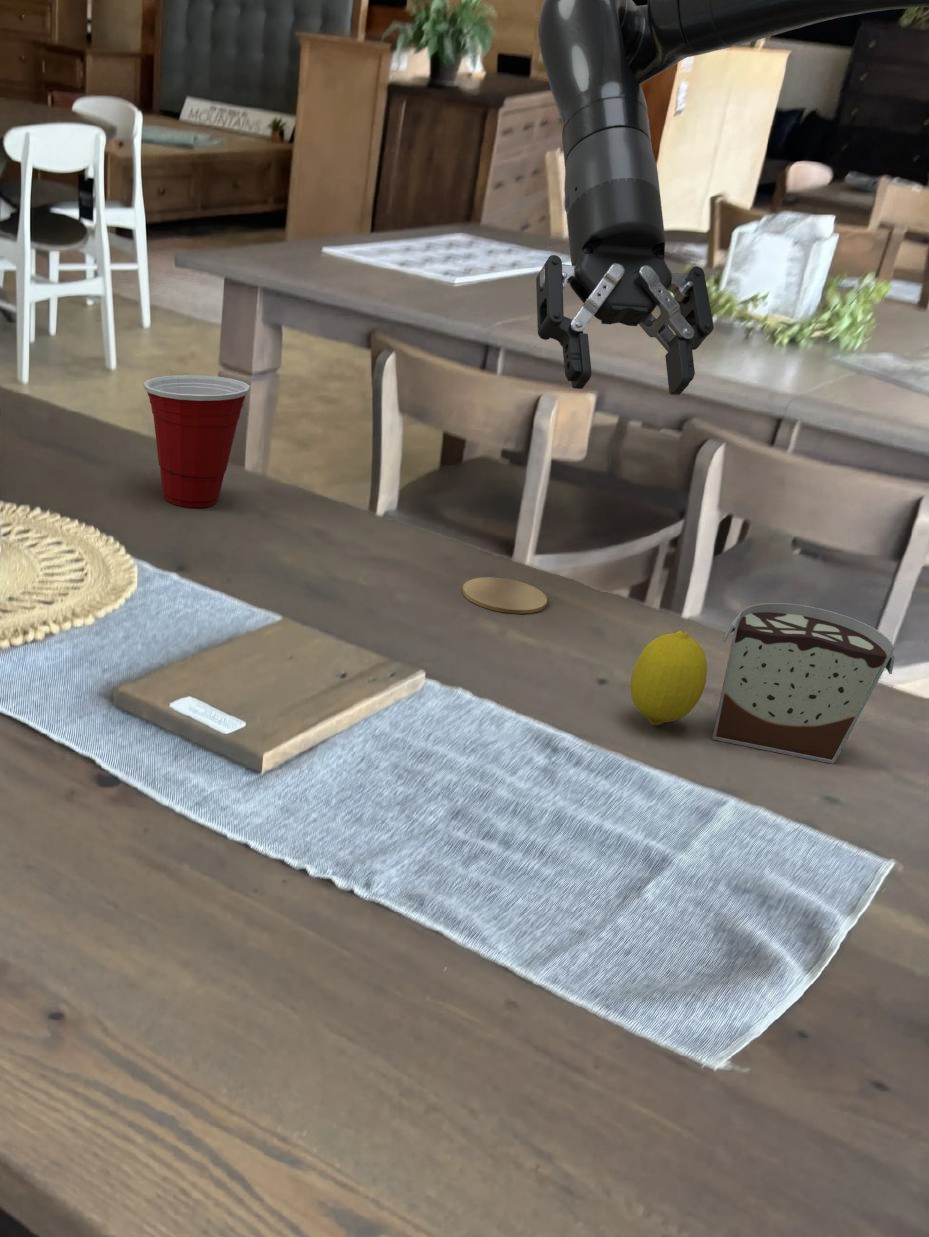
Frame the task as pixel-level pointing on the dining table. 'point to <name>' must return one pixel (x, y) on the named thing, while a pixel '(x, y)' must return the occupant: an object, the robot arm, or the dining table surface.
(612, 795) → the dining table surface
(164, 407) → the plastic cup
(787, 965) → the dining table surface
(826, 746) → the food container
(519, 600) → the coaster
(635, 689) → the lemon
